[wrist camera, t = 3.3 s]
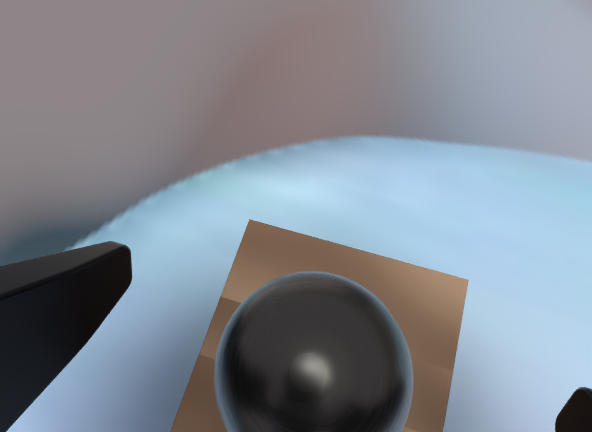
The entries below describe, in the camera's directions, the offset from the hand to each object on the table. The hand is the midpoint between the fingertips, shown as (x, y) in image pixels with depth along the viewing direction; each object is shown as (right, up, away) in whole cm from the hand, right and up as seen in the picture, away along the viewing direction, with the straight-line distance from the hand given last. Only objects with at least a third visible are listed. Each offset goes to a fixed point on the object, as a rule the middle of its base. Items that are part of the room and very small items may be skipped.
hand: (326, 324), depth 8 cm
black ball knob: (0, -3, +6) cm, 7 cm away
